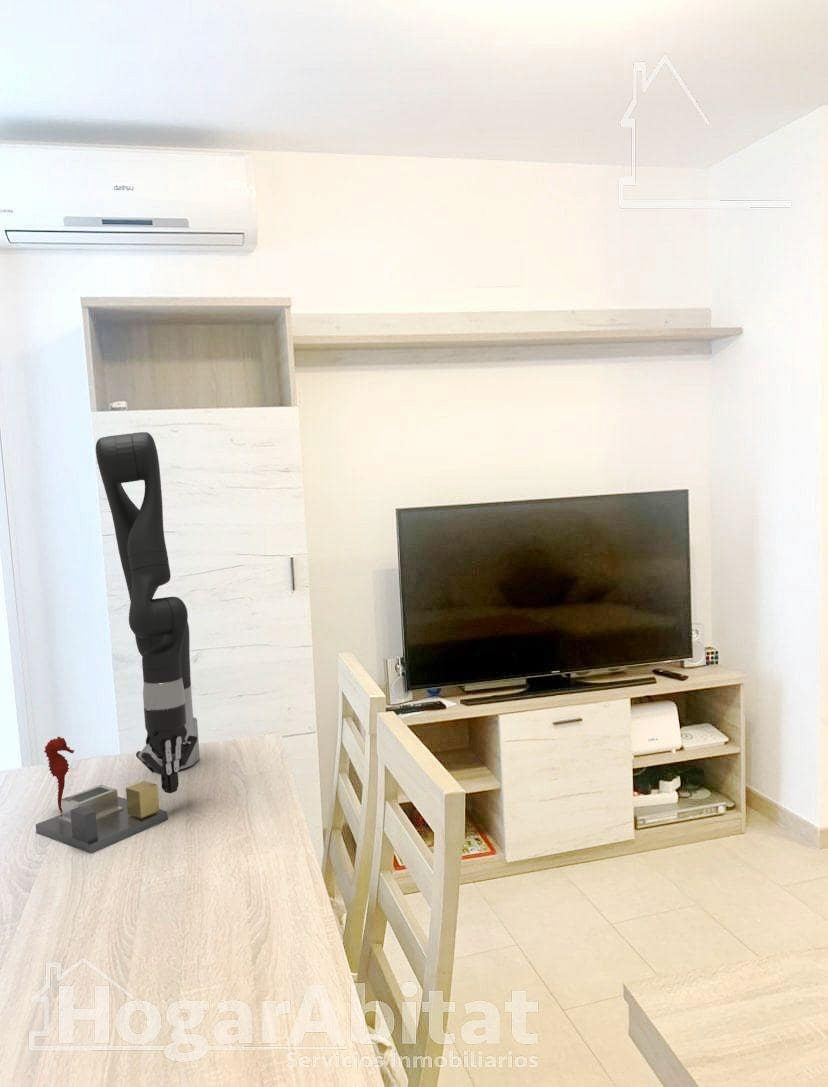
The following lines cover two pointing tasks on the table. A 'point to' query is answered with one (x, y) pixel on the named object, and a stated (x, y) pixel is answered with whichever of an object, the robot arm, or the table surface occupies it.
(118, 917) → the table surface
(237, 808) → the table surface
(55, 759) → the toy
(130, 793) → the slider
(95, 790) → the press frame
